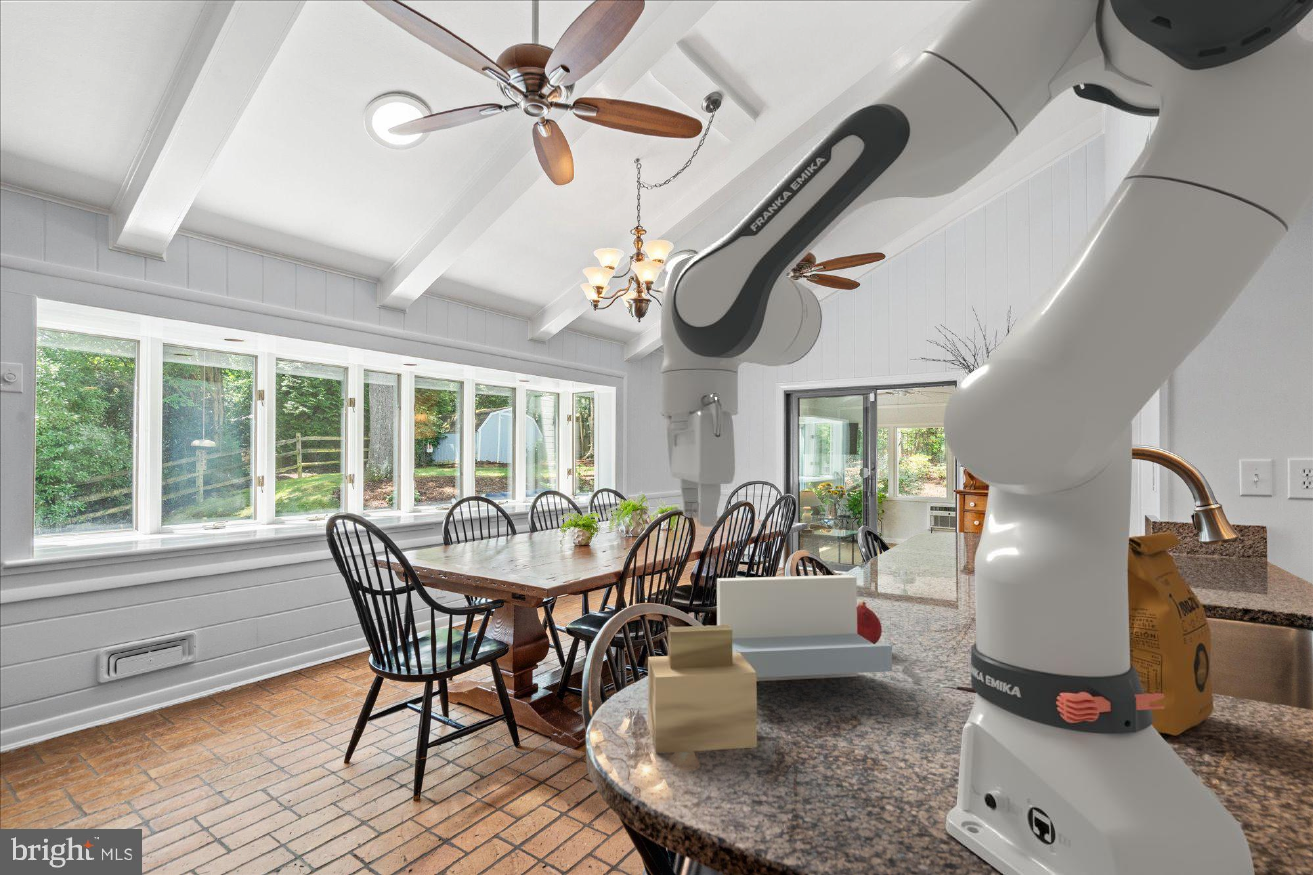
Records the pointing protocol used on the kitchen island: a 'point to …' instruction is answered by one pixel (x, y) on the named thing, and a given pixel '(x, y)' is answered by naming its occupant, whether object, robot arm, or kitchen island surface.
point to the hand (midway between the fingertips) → (698, 521)
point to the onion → (868, 623)
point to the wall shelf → (798, 627)
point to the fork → (924, 682)
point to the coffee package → (1168, 635)
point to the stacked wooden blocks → (701, 693)
